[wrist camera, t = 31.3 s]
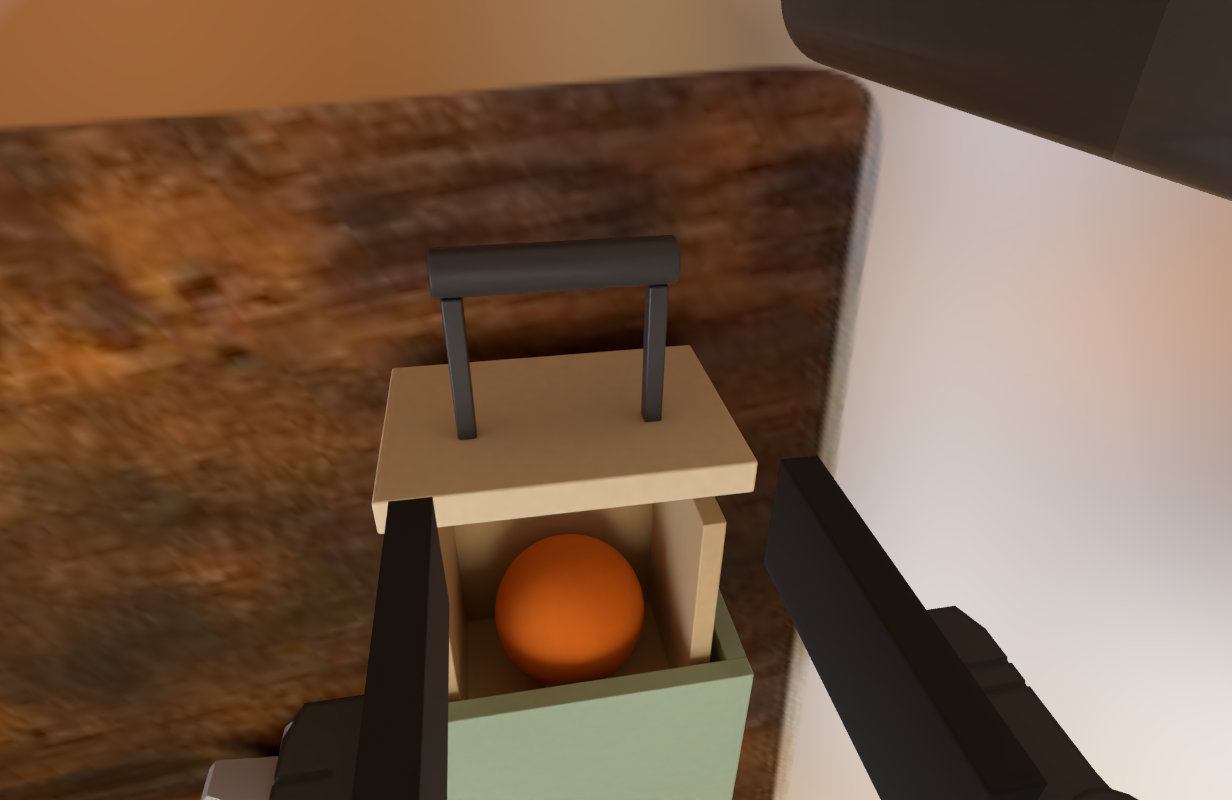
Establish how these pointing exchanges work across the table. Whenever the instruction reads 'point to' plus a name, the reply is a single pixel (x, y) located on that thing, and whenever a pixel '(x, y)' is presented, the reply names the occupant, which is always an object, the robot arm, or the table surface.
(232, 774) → the bunny figurine
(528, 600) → the ball
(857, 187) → the table surface
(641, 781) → the cabinet
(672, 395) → the drawer
